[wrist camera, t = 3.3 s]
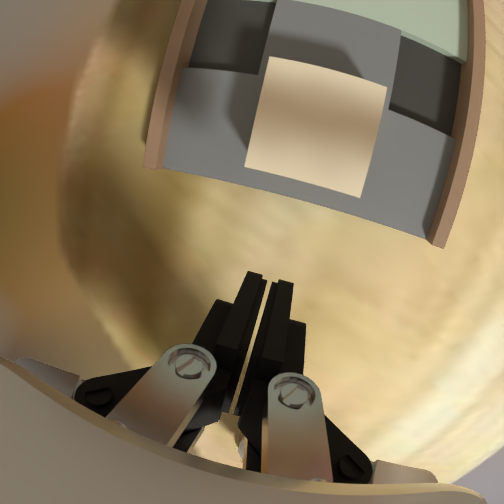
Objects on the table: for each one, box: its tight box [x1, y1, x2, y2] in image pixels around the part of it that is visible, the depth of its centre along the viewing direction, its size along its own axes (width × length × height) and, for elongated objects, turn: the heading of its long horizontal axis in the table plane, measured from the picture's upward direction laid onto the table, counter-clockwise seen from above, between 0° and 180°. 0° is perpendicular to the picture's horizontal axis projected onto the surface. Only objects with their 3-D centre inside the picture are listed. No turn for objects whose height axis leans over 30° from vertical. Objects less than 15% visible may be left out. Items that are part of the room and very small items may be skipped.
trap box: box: [143, 0, 485, 249], centre depth 13 cm, size 20×20×3 cm
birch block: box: [244, 56, 387, 198], centre depth 14 cm, size 6×6×3 cm
